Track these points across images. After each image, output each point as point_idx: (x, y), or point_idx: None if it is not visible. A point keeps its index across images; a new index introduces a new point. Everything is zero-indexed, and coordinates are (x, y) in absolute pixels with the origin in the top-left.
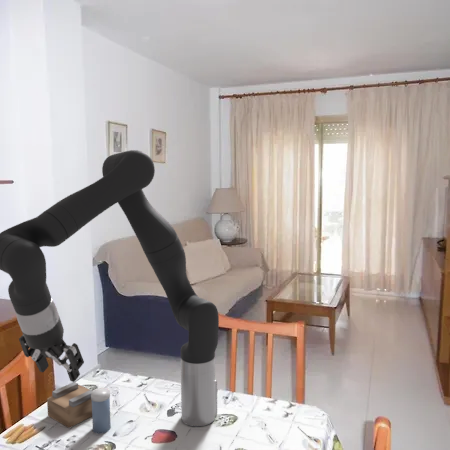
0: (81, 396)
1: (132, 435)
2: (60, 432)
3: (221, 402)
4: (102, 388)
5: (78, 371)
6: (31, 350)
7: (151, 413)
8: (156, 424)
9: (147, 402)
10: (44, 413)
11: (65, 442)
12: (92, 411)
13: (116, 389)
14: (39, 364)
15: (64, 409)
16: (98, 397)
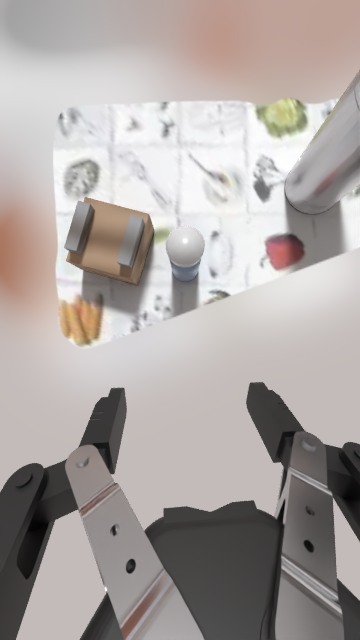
0: (130, 242)
1: (239, 266)
2: (133, 298)
3: None
4: (179, 230)
5: (287, 410)
6: (39, 513)
7: (234, 204)
8: (258, 228)
9: (209, 178)
10: (72, 266)
11: (157, 315)
12: (176, 270)
13: (134, 160)
14: (118, 453)
15: (119, 276)
16: (193, 263)
